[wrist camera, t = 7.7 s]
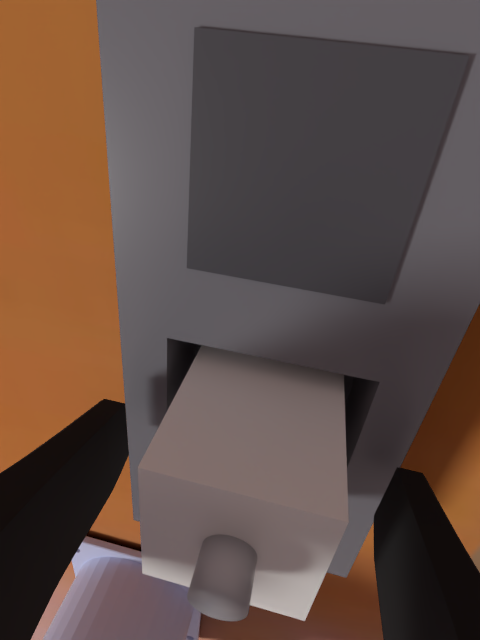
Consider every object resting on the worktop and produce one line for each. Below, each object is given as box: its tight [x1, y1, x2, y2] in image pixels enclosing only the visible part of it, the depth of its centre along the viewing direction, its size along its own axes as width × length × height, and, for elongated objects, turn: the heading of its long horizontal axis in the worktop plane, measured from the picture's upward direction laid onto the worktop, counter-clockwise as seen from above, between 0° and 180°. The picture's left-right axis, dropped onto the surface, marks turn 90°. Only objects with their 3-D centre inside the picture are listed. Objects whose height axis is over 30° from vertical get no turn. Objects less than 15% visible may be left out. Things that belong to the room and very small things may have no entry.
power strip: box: [96, 0, 480, 578], centre depth 10 cm, size 20×8×4 cm, turn 174°
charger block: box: [138, 345, 349, 621], centre depth 10 cm, size 4×4×7 cm
